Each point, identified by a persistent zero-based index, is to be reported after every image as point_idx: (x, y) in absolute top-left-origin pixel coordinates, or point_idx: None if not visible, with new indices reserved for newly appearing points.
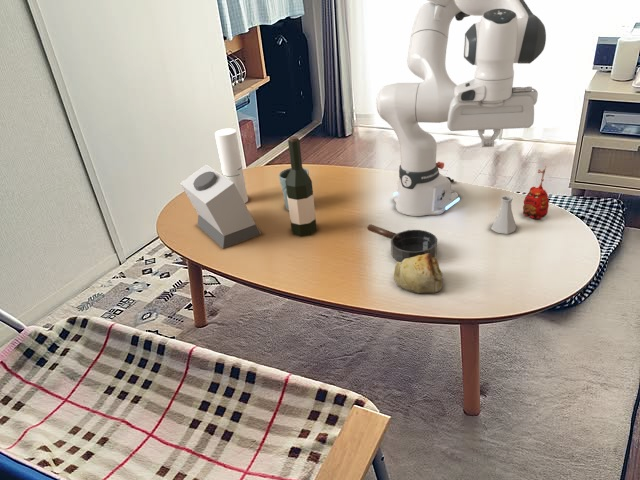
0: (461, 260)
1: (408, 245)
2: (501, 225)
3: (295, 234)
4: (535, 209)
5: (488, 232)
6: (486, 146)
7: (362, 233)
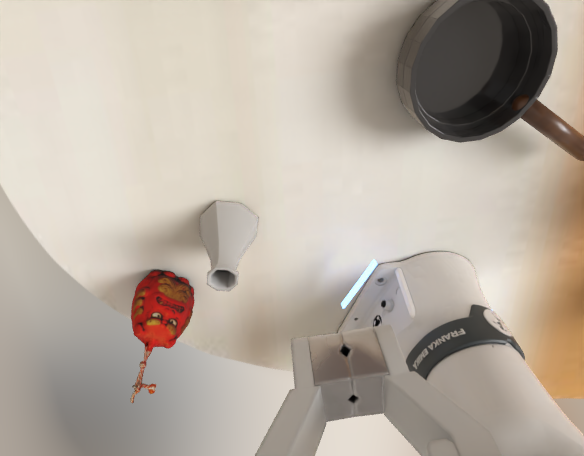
0: (326, 45)
1: (471, 105)
2: (232, 217)
3: None
4: (159, 287)
5: (262, 204)
6: (351, 331)
7: None
